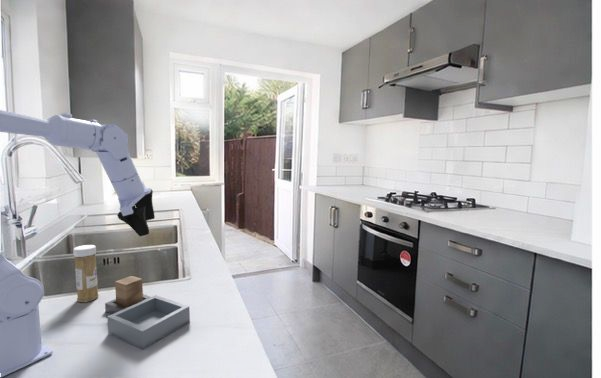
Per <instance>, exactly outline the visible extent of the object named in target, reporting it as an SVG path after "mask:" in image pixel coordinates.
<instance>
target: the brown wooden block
mask: <svg viewBox="0 0 601 378" xmlns="http://www.w3.org/2000/svg"><path fill="white" fill-rule="evenodd" d="M114 285H115V286H114V288H115V299H116V304H117V305H120V306H123V307H125V308H126V307H129V306H131V305H133V304H135V303H138V302H140V301H142V300H143V294H144V291H143V278H140V277H137V276H133V275H130V276H127V277H124V278H120V279H118V280H115V281H114Z"/></svg>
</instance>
